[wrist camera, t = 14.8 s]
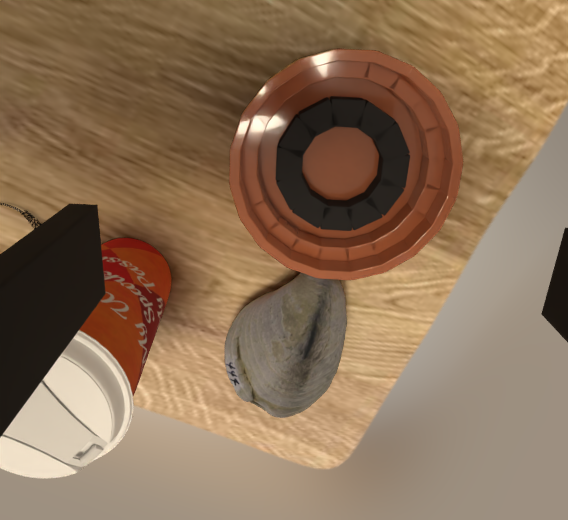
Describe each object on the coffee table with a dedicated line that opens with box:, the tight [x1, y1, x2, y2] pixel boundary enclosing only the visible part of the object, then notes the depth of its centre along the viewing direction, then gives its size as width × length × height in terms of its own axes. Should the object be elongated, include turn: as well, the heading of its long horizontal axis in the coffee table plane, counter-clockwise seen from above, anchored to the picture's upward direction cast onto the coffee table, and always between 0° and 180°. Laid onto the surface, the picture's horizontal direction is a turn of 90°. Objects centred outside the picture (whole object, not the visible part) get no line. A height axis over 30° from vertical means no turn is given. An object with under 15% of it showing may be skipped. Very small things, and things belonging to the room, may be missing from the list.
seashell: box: [225, 273, 347, 418], centre depth 35 cm, size 12×8×5 cm
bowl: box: [229, 48, 463, 280], centre depth 31 cm, size 13×13×4 cm
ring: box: [275, 96, 410, 231], centre depth 32 cm, size 8×8×2 cm
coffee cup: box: [0, 238, 171, 478], centre depth 29 cm, size 8×8×15 cm
